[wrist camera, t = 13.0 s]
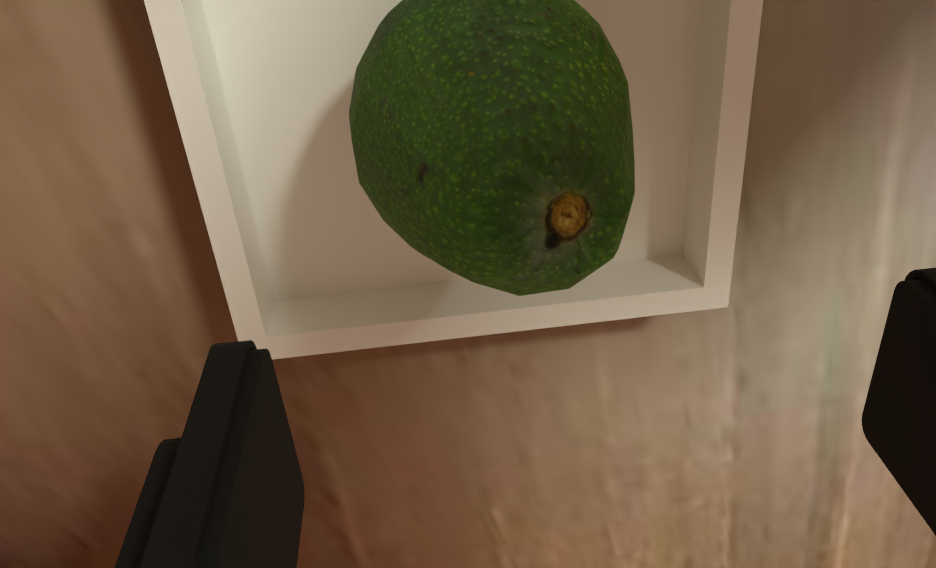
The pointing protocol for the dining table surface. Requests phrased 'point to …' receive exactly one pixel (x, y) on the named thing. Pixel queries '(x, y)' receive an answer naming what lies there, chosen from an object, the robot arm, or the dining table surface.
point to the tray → (373, 241)
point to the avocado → (497, 138)
